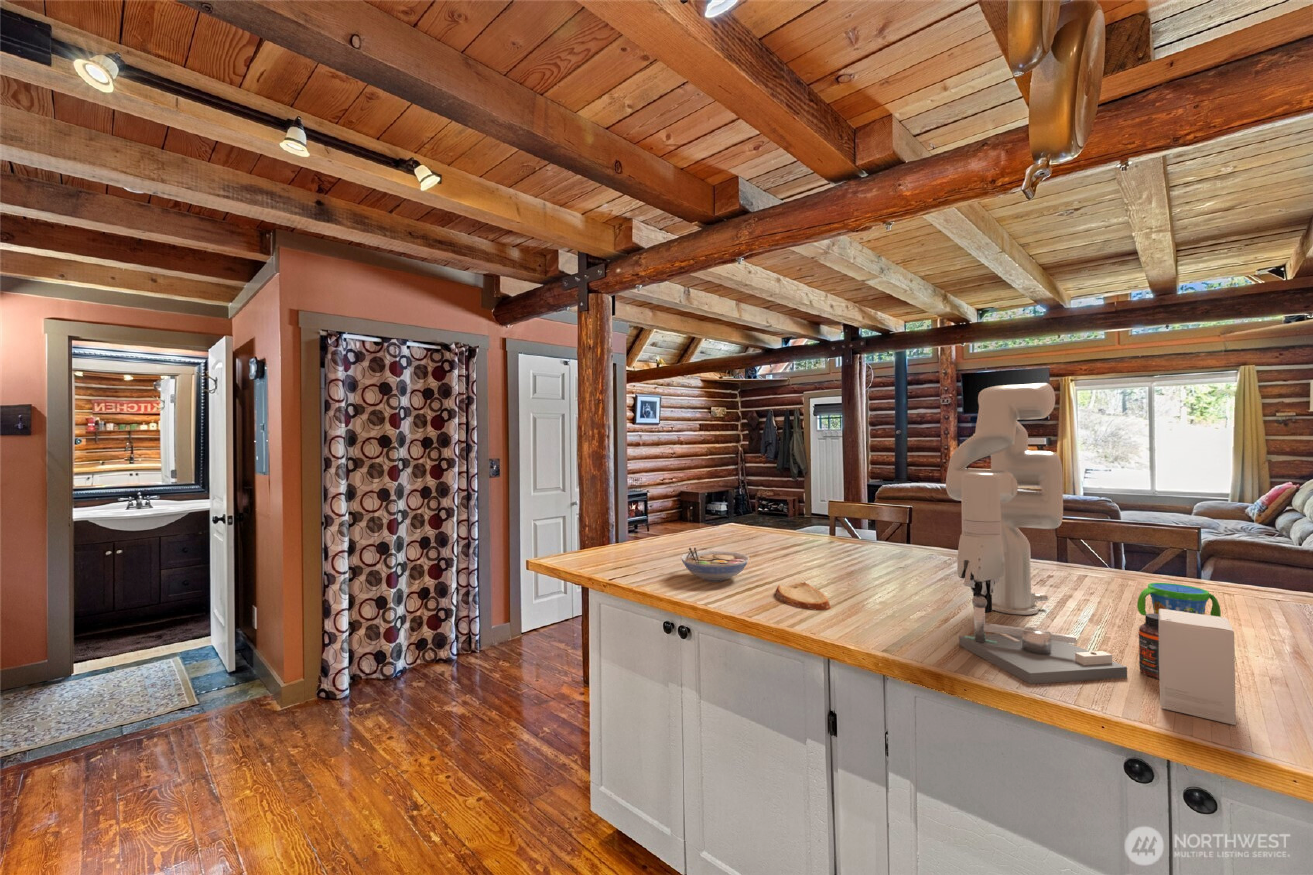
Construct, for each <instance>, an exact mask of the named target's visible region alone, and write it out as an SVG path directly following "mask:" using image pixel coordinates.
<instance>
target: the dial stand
mask: <svg viewBox="0 0 1313 875" xmlns="http://www.w3.org/2000/svg"><path fill="white" fill-rule="evenodd" d="M985 640H986V641H985V642H979V641H976V640H975V634H973V635H958V642H959V643H958V644H959V646H960V647H962V648H963V649H966V650H967V651H969V652H971V653H973V654H974V655H977V656H978V657H981V658H982V659H984V660H986V661H988V662H990V664H991V663H992V665H995V666H997V667H999V668H1000V669H1002V670H1004V671H1005V672H1008V673H1010V674H1012V675H1013V676H1015V677H1016V678H1018V679H1021V680H1023V681H1024V682H1025V683H1028V684H1030V685H1037V684H1039V685H1040V684H1052V683H1066V682H1082V681H1083V682H1084V681H1097V680H1112V679H1113V680H1116V679H1128V667H1127V666H1125V665H1123V664H1121V663H1118V662H1116V661H1113V654H1111V653H1109V652H1106V651H1104V650H1099V651H1097V650H1096V651H1095V650H1094V651H1089V650H1087V649H1084V648H1082V647H1080V646H1077V645H1075V644H1074V643H1067V642H1060V641H1053V640H1051V651H1052V652H1051V653H1046V654H1043V653H1035V652H1031V651H1028V650H1025V649H1024V648H1022V637H1021V636H1014V635H1007V634H1001V633H992V634H989V633H988V634H985Z"/></svg>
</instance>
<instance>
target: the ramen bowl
mask: <svg viewBox="0 0 1313 875" xmlns="http://www.w3.org/2000/svg"><path fill="white" fill-rule="evenodd" d="M688 550H689V552H687V553H684V554H682V555H681V556H680V559H681V562H682V564H683V565H684V566H685V568H686V569H687V570H688V572H689V573H691V574H692V575H693V576H696V577H698V578H701V579H703V580H704V581H706V582H711V583H712V582H713V583H714V582H715V583H717V582H725V581H727V580H728V579H731V578H733V577H735V576H737V575H739V574H740V573H742V571H743V570H744V568H746V566H747V564H748V562H749V559H750V556H748V555H746V554H745V553H740V552H737V551H727V550H701V551H700V550H699V551H697V548H696V547H693V550H694V551H693V550H692V548H691V547H689V548H688Z"/></svg>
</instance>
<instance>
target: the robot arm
mask: <svg viewBox="0 0 1313 875" xmlns="http://www.w3.org/2000/svg"><path fill="white" fill-rule="evenodd" d="M977 403H978V411H977V412H978V413H977V419H976V424H975V425H976V426H975V430H974V431H975V432H974V434H973V435H971V436H970V437H969V438H967V439H966V440H965V441H963V442H962V443H961V444H960V445H959V446H958V447H957V448H956V449H955V450H954V452H953V453H952V454H951V456H950V459H949V462H948V467H947V472H946V478H945V490H946V493H947V495H948V496H949V498H951V499H953V500H955V501H961V533H960V535H959V536H960V537H959V541H958V550H957V565H956V568H957V570H956V571H957V573H956V574H957V577H958V578H959V579H964V581H963V582H964V583H963V585H964V586H965V587H967V588H968V587H969V588H970V590H971V592H972V593H973V595H972V598H973V597H974V596H976V595H981V596H983V597H984V598H985V599H986V601H987V605H986V607H985V614H988V613H989V614H990V613H992V612H993V611H994V610H995V612H998V613H1003V614H1010V615H1019V616H1020V615H1021V616H1025V615H1027V616H1028V615H1036V614H1037V613H1039V606H1038V605H1036V603H1038V602H1047V601H1048V600H1049V597H1048V595H1047V594H1046V593H1037V594H1036V593H1035V592H1033V591H1032V573H1031V572H1032V570H1031V568H1032V567H1031V566H1032V565H1031V564H1032V563H1031V560H1032V559H1031V543H1030V542H1029V539H1028V538H1027V537H1026V535H1025V534H1023V532H1022V531H1021V530H1020V528H1032V529H1042V530H1045V529H1046V530H1053V529H1054V530H1055V529H1057V528H1059V527H1060V526H1061V525H1062V524H1063V523H1062V522H1063V516H1064V485H1063V484H1064V482H1063V481H1064V480H1063V479H1064V476H1063V465H1062V461H1061V458H1060V456H1059V455H1058V454H1057V453H1055V452H1053V451H1049V450H1048V451H1047V450H1030V449H1029V434H1028V432H1027V430H1026V428H1025V427H1024V426H1023V424H1021V423H1020V422H1019V420H1039V419H1041V420H1042V419H1045V418H1047V417H1048V416H1049V415H1050V414H1051V413H1052V412H1053V410H1054V408H1055V406H1056V405H1055V404H1056V394H1055V390H1054V388H1053V387H1052V385H1050V384H1049V383H1047V382H1036V383H1024V384H1006V385H1005V384H1003V385H995V386H990V387H989V386H988V387H987V388H984V389H982V390H981V391H980V392H978V396H977ZM986 457H990V469H974V468H972V469H971V468H967V467H968V466H969V465H970V464H972V463H973V462H974V463H975V461H978V460H980V459H983V458H986ZM1019 487H1036V488H1039V489H1041V491H1032V490H1031V491H1028V490H1027V491H1026V490H1018V488H1019ZM972 605H973V604H972ZM973 608H974V605H973Z"/></svg>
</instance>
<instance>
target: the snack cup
mask: <svg viewBox="0 0 1313 875" xmlns="http://www.w3.org/2000/svg"><path fill="white" fill-rule="evenodd" d="M1149 595H1150V599H1151V604H1152V609H1153V614H1159V609H1168V610H1175V611H1182V612H1188V613H1195V614H1202V615H1206V614H1205V613H1206V605H1207V602H1208V601H1209V599H1210V600H1211V604H1212V605H1211V609H1210V613H1209V614H1210V616H1218V617H1221V615H1222V613H1221V612H1222V611H1221V606H1220V603H1219V601H1218V598H1216V596H1215V595H1214V594H1212V593H1210V592H1209V591H1208V590H1207V589H1203V588H1199V587H1196V586H1191V585H1187V584H1186V585H1185V584H1180V583H1179V584H1178V583H1171V582H1170V583H1169V582H1151V583H1150V582H1149V583H1148V584H1147V588H1144V589H1143V590H1142V591H1141V592H1140V594H1139V596H1138V598H1137V603H1136V604H1137V605H1136V606H1137V611H1138V612H1139V614H1140V615H1142V616H1145V615H1146V614H1147V611H1146V604H1147V603H1146V598H1147V596H1149Z"/></svg>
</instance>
